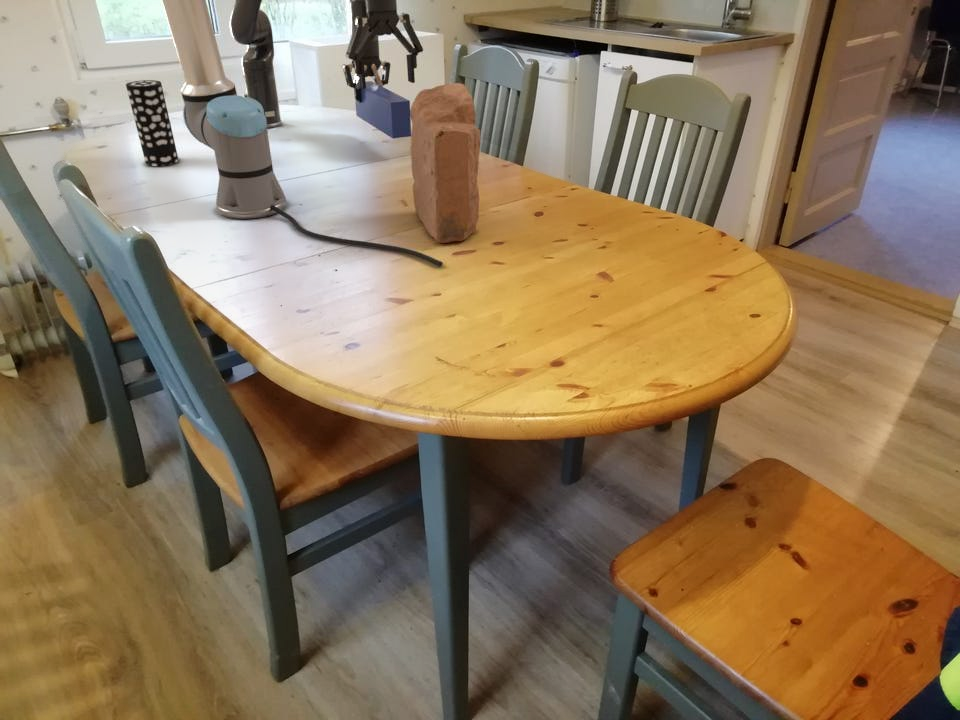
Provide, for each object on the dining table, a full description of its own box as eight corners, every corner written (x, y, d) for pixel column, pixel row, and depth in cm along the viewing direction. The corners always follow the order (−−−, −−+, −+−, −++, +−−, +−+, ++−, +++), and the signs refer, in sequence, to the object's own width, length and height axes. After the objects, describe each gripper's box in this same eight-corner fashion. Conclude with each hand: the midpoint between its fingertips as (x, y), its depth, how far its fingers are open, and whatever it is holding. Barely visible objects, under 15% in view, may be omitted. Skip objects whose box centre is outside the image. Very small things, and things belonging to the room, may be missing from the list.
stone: (490, 240, 143) (490, 97, 128) (437, 246, 140) (432, 100, 125) (459, 208, 160) (457, 80, 146) (412, 214, 157) (405, 83, 143)
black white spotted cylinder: (184, 157, 190) (167, 80, 179) (169, 166, 183) (151, 87, 172) (155, 156, 190) (136, 79, 179) (139, 165, 183) (119, 86, 172)
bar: (411, 136, 187) (409, 100, 182) (392, 138, 185) (390, 102, 180) (373, 113, 208) (371, 81, 203) (356, 115, 205) (353, 82, 200)
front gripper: (420, -12, 176) (425, 77, 188) (326, -6, 166) (337, 87, 178) (433, -9, 170) (436, 82, 182) (336, -3, 161) (346, 93, 172)
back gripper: (383, 34, 197) (387, 96, 207) (335, 37, 191) (341, 100, 201) (393, 38, 192) (396, 101, 201) (344, 41, 186) (349, 106, 195)
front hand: (387, 84), depth 180 cm, fingers open, 13 cm apart
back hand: (369, 100), depth 201 cm, fingers closed on bar, 5 cm apart
